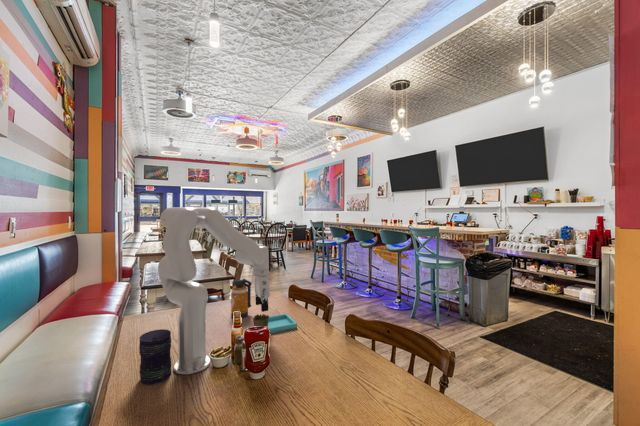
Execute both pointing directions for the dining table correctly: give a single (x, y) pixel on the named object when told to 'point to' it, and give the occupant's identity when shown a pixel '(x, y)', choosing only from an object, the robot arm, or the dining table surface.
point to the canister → (241, 297)
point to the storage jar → (155, 356)
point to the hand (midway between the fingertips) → (261, 307)
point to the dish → (281, 323)
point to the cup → (261, 320)
